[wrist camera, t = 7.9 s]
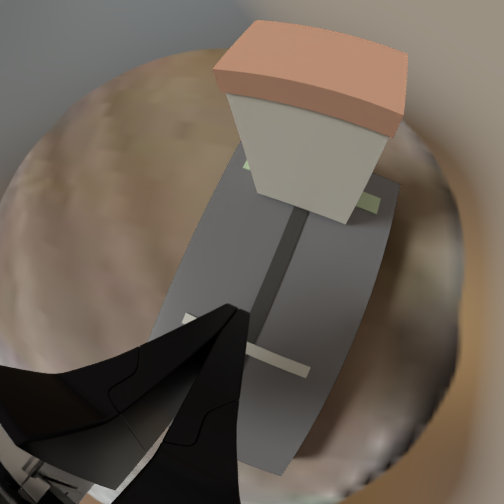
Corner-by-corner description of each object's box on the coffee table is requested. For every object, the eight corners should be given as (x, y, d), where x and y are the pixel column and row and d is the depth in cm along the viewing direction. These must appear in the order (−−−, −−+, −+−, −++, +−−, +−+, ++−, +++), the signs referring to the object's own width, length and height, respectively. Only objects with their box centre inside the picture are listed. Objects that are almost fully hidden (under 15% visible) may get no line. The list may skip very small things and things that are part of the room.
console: (282, 460, 13) (280, 477, 11) (143, 393, 15) (126, 400, 13) (390, 198, 16) (401, 183, 14) (249, 150, 18) (244, 131, 16)
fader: (346, 226, 14) (403, 115, 5) (254, 193, 15) (212, 69, 6) (361, 176, 14) (408, 54, 6) (276, 148, 15) (256, 20, 7)
